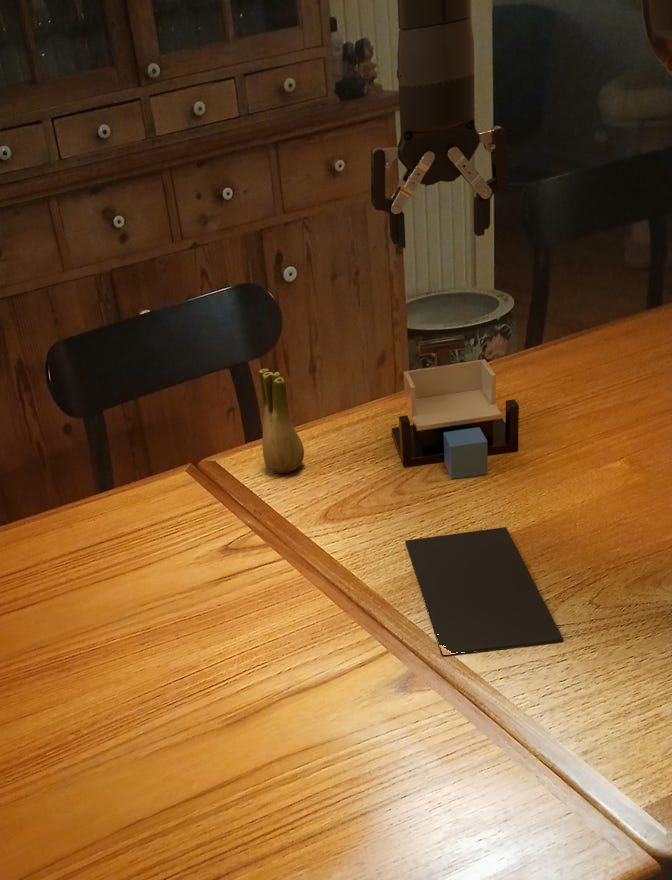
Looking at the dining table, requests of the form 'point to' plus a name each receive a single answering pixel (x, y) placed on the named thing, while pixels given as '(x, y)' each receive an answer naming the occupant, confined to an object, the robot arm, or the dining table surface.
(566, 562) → the dining table surface
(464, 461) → the block
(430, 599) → the mat
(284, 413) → the fennel bulb
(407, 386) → the open storage bin
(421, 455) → the stand
